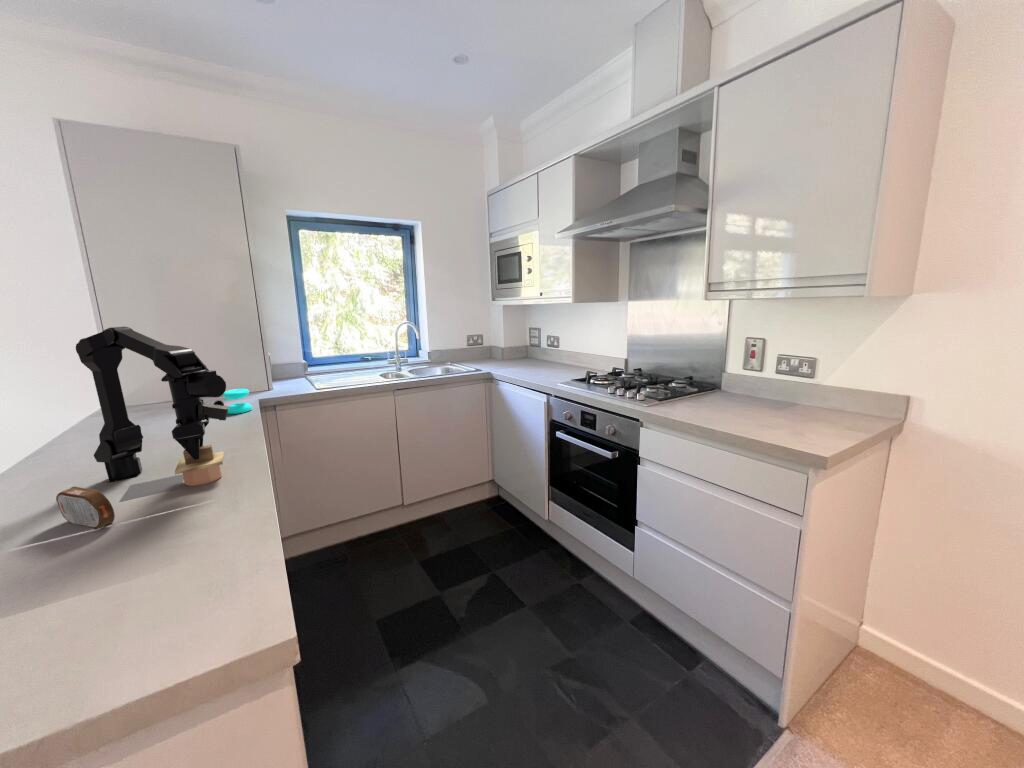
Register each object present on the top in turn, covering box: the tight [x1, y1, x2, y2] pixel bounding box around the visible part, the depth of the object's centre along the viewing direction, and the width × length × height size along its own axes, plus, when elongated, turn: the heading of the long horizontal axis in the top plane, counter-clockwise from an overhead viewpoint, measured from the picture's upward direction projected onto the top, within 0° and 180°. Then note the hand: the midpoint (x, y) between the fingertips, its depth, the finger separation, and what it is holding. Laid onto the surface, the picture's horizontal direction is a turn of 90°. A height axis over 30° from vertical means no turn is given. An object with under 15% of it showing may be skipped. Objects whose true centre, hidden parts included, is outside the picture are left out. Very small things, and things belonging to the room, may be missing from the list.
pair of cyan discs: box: [222, 388, 253, 415], centre depth 191 cm, size 10×10×10 cm
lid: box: [174, 444, 225, 476], centre depth 113 cm, size 10×10×4 cm
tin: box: [55, 486, 116, 530], centre depth 93 cm, size 15×3×8 cm, turn 71°
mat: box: [118, 473, 184, 503], centre depth 112 cm, size 12×12×1 cm
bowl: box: [182, 465, 223, 487], centre depth 114 cm, size 8×8×5 cm
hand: (198, 454), depth 113 cm, fingers open, 9 cm apart
